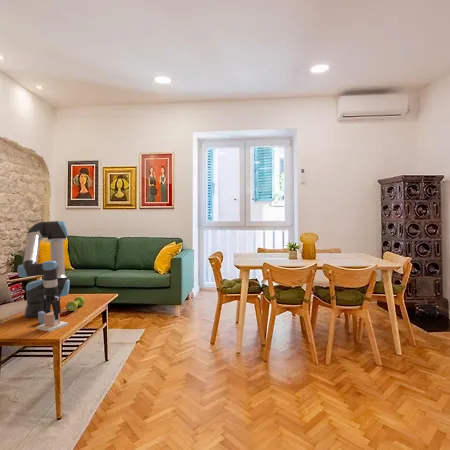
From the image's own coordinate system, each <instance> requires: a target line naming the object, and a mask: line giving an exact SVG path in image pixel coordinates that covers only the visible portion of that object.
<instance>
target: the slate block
mask: <svg viewBox="0 0 450 450" xmlns="http://www.w3.org/2000/svg"><path fill="white" fill-rule="evenodd" d="M50 311H51V312H53V309H50ZM49 313H50V312H49ZM44 314H46V313H45V312H43V311H41V312H38V317H37V318H38V322H37V323H38V324H40V325H43V324H45V322H44Z"/></svg>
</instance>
